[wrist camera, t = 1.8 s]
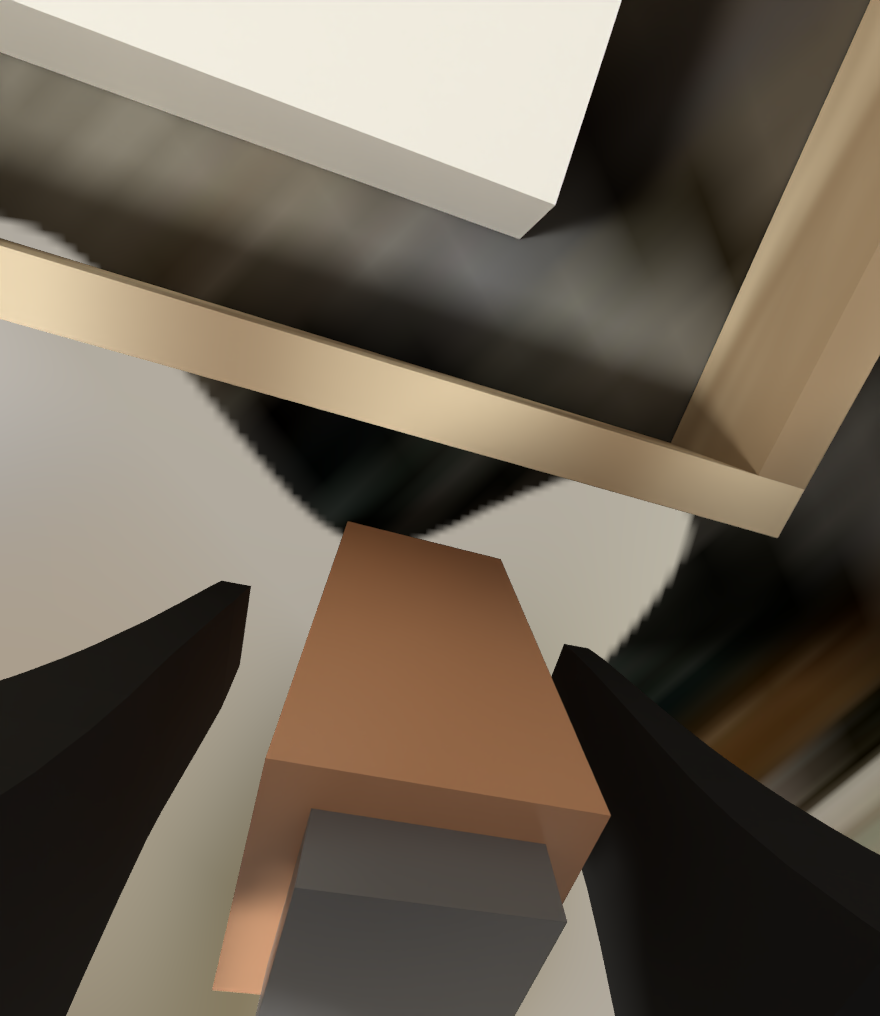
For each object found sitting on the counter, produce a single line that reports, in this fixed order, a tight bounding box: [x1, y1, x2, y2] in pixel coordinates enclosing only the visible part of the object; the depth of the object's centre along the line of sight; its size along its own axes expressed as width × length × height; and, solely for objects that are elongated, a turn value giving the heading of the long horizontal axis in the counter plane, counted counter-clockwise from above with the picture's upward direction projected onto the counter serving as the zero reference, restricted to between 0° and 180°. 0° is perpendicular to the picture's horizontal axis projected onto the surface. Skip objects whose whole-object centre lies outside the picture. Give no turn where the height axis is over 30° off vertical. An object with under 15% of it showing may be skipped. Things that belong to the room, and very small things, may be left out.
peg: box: [212, 521, 611, 1016], centre depth 9 cm, size 4×4×8 cm
